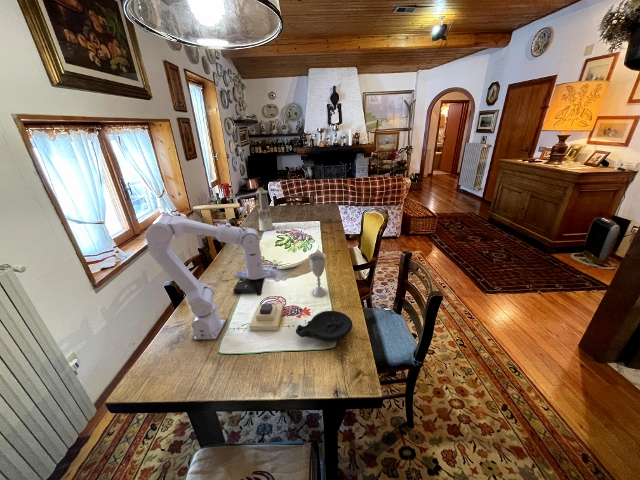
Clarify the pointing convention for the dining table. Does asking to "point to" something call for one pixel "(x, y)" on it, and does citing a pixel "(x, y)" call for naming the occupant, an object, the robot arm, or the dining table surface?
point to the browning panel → (243, 288)
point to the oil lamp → (326, 326)
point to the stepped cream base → (267, 318)
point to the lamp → (264, 221)
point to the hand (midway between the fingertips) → (259, 294)
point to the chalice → (318, 270)
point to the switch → (266, 308)
